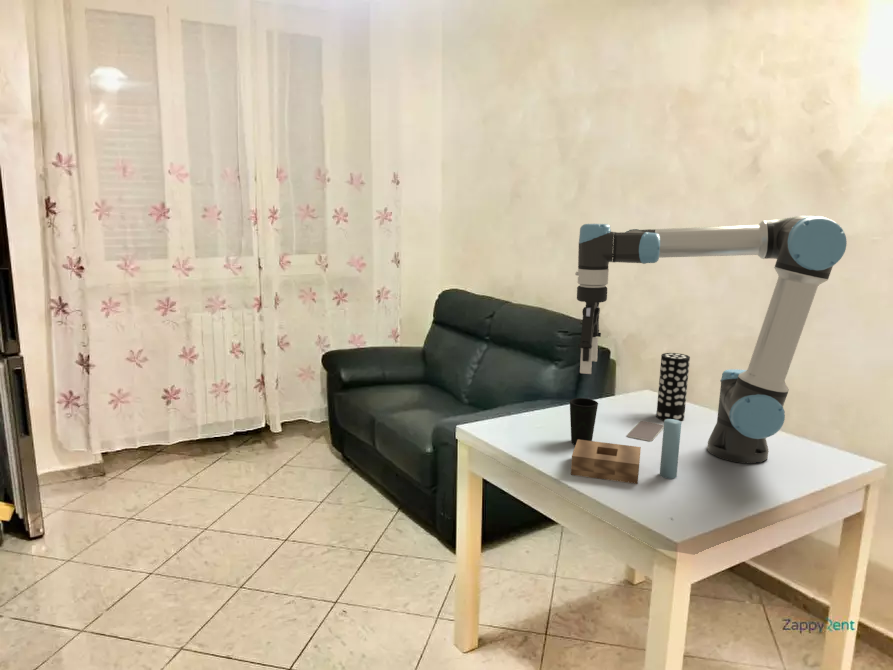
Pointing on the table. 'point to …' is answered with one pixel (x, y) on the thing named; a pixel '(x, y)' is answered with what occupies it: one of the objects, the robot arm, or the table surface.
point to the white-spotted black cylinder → (672, 386)
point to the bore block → (606, 461)
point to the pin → (670, 448)
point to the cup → (582, 419)
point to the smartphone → (645, 431)
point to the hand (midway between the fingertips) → (588, 367)
